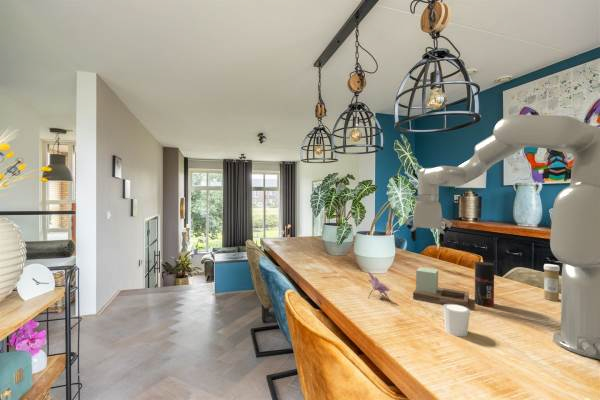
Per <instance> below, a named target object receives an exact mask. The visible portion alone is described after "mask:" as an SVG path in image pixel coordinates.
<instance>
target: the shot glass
mask: <svg viewBox="0 0 600 400" xmlns="http://www.w3.org/2000/svg"><path fill="white" fill-rule="evenodd" d="M442 309H443V317H444V319H443V320H444V330H445V332H446V333H447V334H450V335H451V336H455V337H467V335H468V330H469V322H470V315H471V310H470V308H469V307H468V308H467V307H464V306H461V305H457V304H445V305H443V304H442Z"/></svg>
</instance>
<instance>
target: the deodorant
mask: <svg viewBox="0 0 600 400" xmlns="http://www.w3.org/2000/svg"><path fill="white" fill-rule="evenodd" d="M474 303H475V304H476V305H478V306H481V307H486V308H493V307H494V306H495V263H492V262H487V261H475V262H474Z"/></svg>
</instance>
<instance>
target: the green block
mask: <svg viewBox="0 0 600 400" xmlns="http://www.w3.org/2000/svg"><path fill="white" fill-rule="evenodd" d="M415 271H416V272H415V273H416V274H415V289H416V291H420V292H426V293H432V294H436V292H437V290H438V287H439V269H437V268H432V267H431V268H429V267H424V266H423V267H421V266H418V268H417V269H416V270H415Z"/></svg>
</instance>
